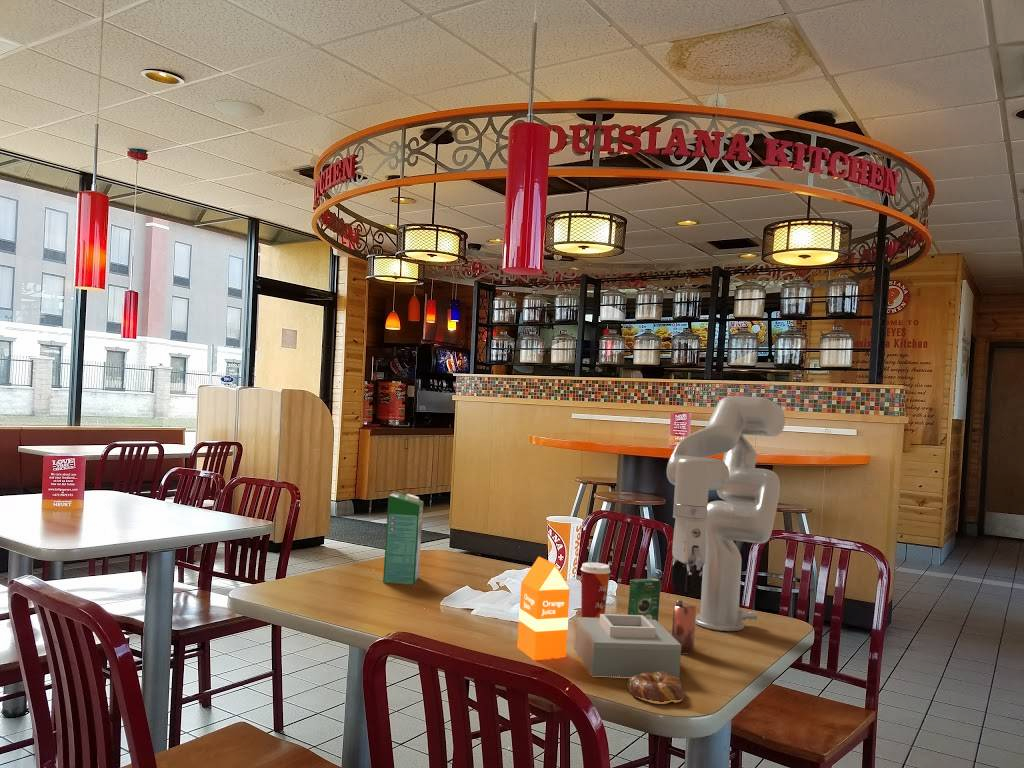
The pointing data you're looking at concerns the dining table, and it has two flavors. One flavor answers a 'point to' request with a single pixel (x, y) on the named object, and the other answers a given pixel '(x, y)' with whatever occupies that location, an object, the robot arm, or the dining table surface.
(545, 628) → the orange juice
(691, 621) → the spout can
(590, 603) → the paper cup
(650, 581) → the coffee box
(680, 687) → the pretzel
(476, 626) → the dining table surface
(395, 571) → the milk carton
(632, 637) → the grey square box
